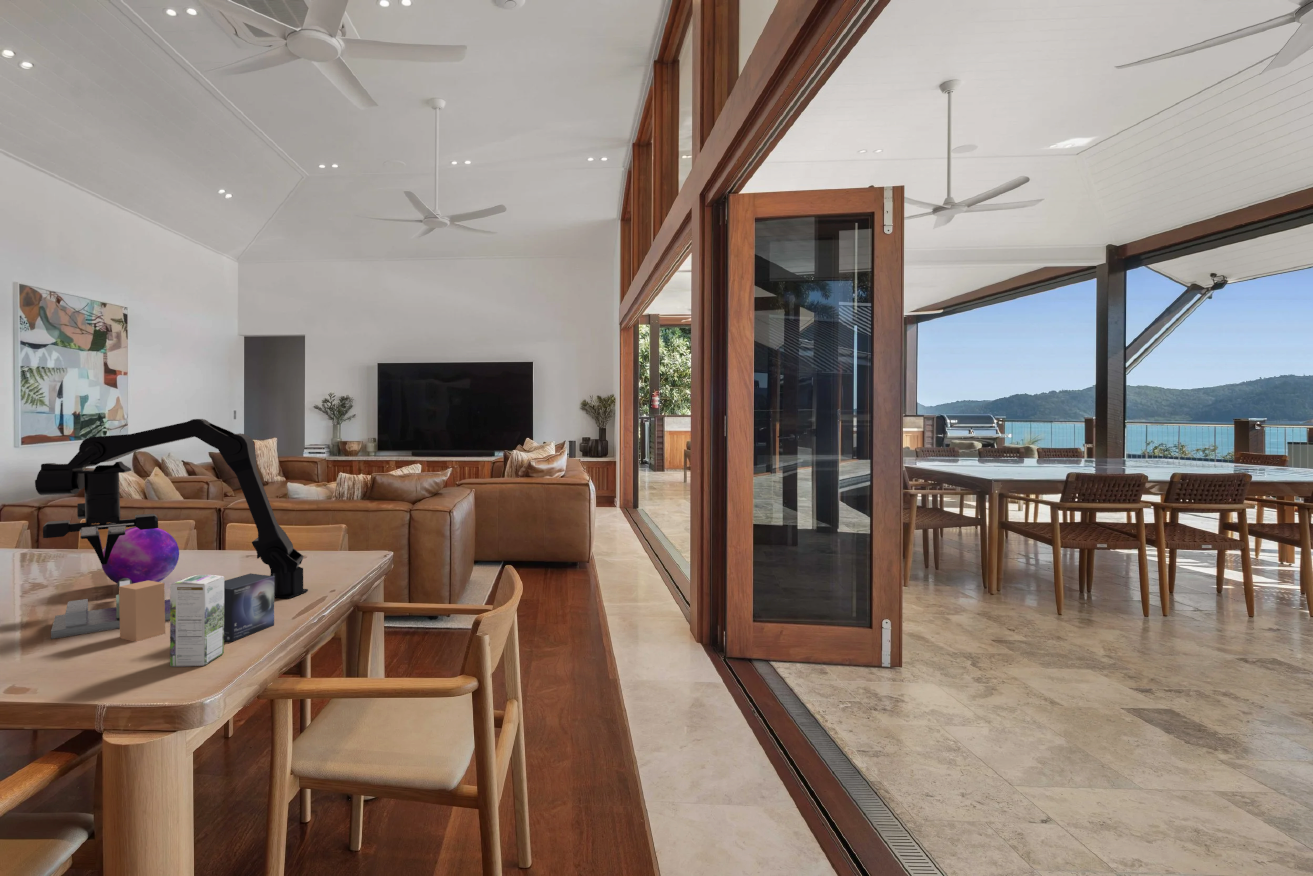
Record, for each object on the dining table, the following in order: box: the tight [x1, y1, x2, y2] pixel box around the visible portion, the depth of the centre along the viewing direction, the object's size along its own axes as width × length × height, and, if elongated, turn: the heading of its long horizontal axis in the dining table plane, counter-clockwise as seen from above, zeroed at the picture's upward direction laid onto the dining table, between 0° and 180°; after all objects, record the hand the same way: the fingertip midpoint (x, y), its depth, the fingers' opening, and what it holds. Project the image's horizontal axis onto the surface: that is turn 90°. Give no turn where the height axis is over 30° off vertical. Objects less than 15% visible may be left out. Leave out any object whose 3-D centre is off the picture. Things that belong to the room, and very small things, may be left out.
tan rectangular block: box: [118, 580, 166, 642], centre depth 122 cm, size 5×5×10 cm
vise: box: [50, 598, 170, 640], centre depth 132 cm, size 22×12×4 cm, turn 131°
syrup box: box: [169, 574, 225, 667], centre depth 110 cm, size 6×6×14 cm
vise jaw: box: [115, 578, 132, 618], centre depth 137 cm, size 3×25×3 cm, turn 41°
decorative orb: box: [101, 527, 180, 584], centre depth 157 cm, size 15×15×15 cm
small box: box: [224, 572, 275, 643], centre depth 125 cm, size 11×6×10 cm, turn 168°
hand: (104, 564), depth 139 cm, fingers closed
